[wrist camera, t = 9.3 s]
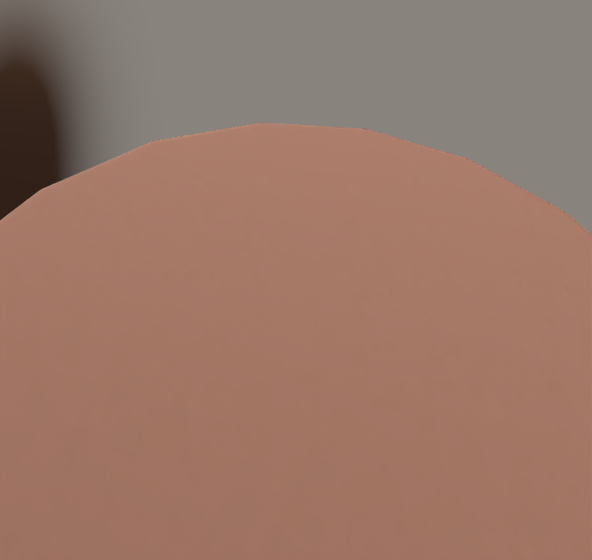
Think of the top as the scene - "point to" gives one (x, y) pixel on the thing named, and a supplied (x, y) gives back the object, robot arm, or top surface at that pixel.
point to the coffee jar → (294, 357)
